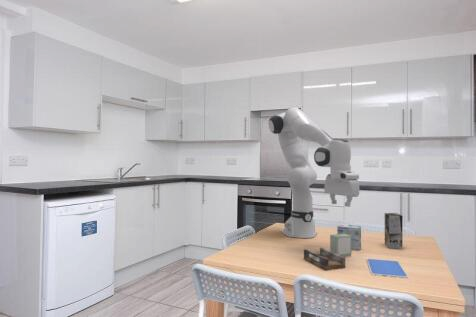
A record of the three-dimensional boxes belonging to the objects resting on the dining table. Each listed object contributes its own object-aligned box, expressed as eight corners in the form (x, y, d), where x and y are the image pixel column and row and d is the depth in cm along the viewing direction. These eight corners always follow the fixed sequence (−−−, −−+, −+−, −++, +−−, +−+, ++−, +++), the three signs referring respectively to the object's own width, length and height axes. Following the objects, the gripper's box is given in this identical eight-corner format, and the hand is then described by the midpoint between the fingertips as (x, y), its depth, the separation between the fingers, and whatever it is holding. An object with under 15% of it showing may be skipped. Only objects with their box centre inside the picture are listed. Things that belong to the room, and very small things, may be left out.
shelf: (303, 258, 139) (303, 249, 140) (321, 256, 143) (321, 247, 143) (325, 270, 124) (325, 260, 125) (345, 267, 128) (345, 257, 128)
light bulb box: (361, 247, 160) (361, 225, 160) (360, 250, 154) (360, 227, 154) (338, 244, 164) (338, 223, 164) (337, 247, 158) (337, 225, 158)
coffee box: (403, 249, 156) (403, 215, 156) (388, 248, 157) (388, 215, 157) (397, 244, 165) (397, 212, 165) (384, 243, 166) (384, 212, 166)
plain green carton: (330, 254, 146) (330, 234, 146) (344, 253, 149) (344, 233, 149) (336, 257, 141) (336, 237, 142) (351, 256, 144) (351, 235, 144)
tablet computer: (408, 280, 116) (408, 276, 116) (371, 276, 120) (371, 272, 120) (398, 264, 135) (398, 261, 135) (366, 261, 138) (366, 258, 138)
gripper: (321, 173, 154) (321, 202, 154) (349, 175, 135) (350, 208, 135) (332, 173, 156) (332, 202, 156) (361, 175, 137) (362, 207, 137)
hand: (340, 205), depth 145 cm, fingers open, 8 cm apart
